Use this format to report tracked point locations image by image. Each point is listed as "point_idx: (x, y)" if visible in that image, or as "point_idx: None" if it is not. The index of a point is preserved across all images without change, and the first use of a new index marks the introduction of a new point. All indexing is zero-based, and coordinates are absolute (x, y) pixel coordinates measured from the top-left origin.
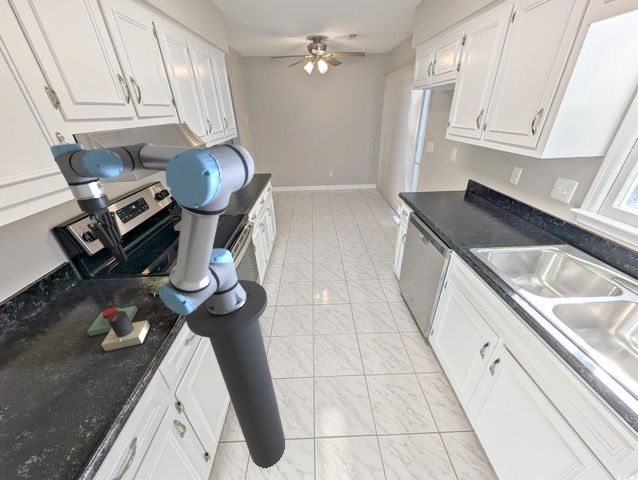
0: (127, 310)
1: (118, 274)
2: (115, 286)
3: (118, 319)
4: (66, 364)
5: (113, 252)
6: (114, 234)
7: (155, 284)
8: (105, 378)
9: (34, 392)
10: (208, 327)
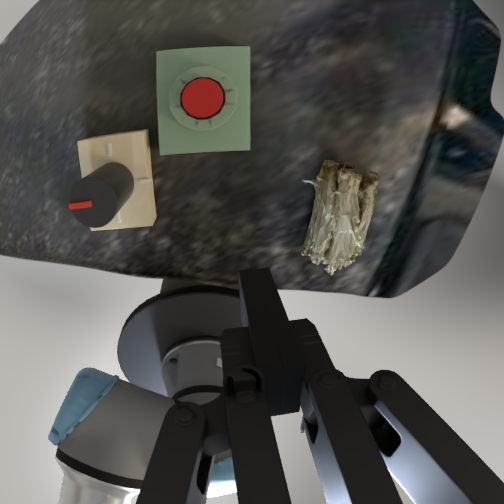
0: (231, 131)
1: (465, 42)
2: (411, 40)
3: (76, 218)
4: (69, 66)
5: (221, 357)
6: (324, 488)
7: (337, 197)
8: (23, 189)
9: (18, 61)
10: (130, 346)
